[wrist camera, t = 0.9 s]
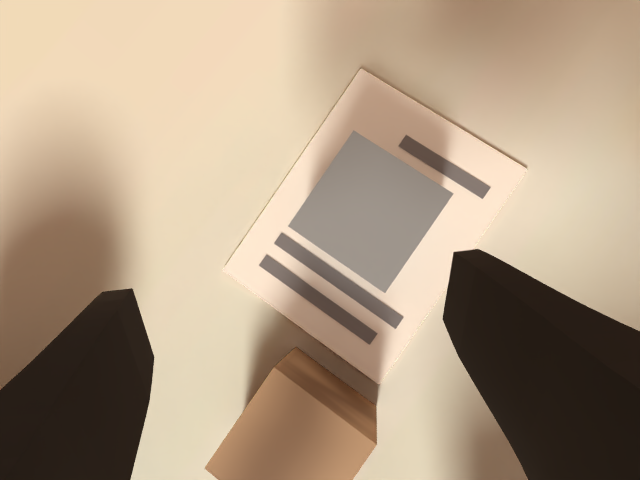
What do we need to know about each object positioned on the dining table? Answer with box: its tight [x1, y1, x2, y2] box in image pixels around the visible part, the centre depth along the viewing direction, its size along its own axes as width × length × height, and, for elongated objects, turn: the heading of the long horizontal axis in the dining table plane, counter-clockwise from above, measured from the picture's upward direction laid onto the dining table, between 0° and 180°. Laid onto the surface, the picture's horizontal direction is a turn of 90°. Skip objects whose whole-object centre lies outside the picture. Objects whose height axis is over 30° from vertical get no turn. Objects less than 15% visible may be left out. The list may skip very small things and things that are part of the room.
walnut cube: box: [205, 347, 377, 480], centre depth 20 cm, size 5×5×5 cm
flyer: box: [222, 68, 528, 385], centre depth 22 cm, size 10×13×1 cm
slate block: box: [288, 130, 453, 293], centre depth 20 cm, size 5×5×4 cm
